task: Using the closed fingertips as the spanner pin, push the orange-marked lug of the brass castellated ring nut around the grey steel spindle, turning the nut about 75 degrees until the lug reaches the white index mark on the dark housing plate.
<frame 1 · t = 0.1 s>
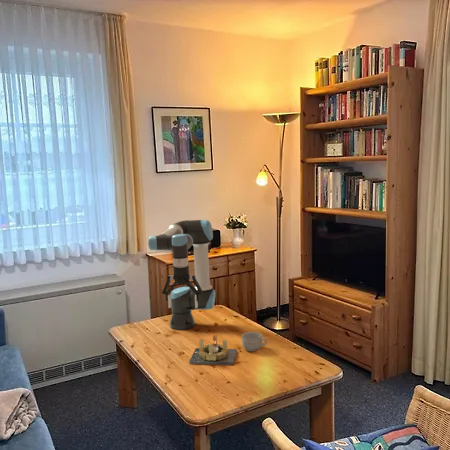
hand: (183, 307, 238), 28 cm above the table, fingers open, 13 cm apart
teacup: (254, 350, 252), on the table
ring nut: (213, 347, 243), point 6 cm above the table, hinge at 0.0°
housing: (213, 357, 244), on the table
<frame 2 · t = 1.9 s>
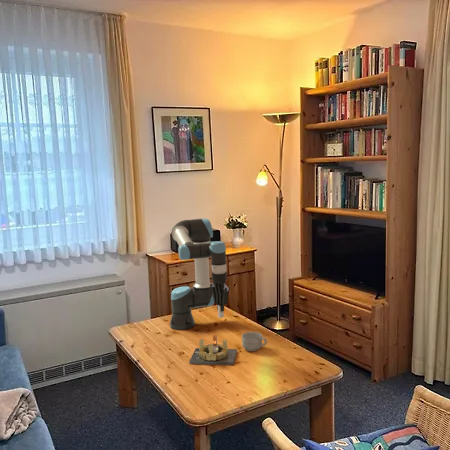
hand: (221, 316, 245), 20 cm above the table, fingers closed
nothing on the table moved.
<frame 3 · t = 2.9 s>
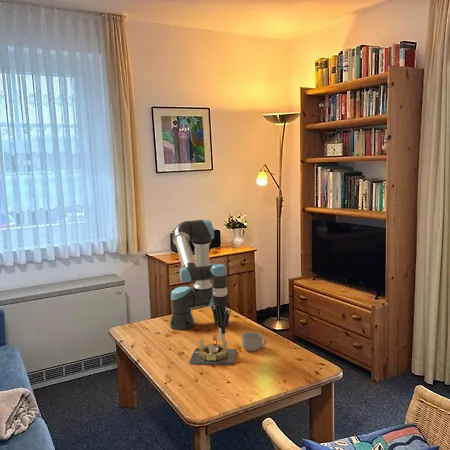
hand: (222, 339, 247), 8 cm above the table, fingers closed
nothing on the table moved.
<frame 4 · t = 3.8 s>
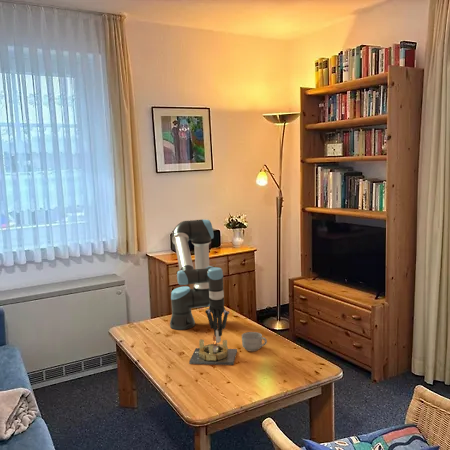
hand: (218, 341, 249), 6 cm above the table, fingers closed
ring nut: (213, 347, 243), point 6 cm above the table, hinge at 0.0°, touching gripper
everything else where it was.
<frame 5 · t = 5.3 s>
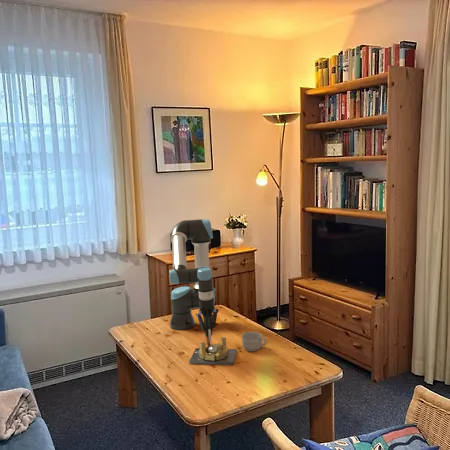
hand: (209, 341, 249), 6 cm above the table, fingers closed
ring nut: (213, 347, 243), point 6 cm above the table, hinge at 38.4°, touching gripper
everything else where it was.
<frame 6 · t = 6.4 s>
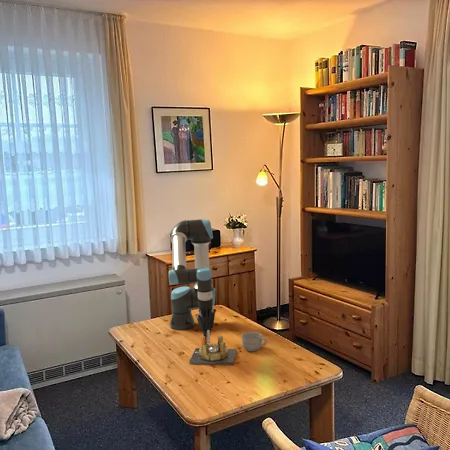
hand: (207, 342, 248), 6 cm above the table, fingers closed
ring nut: (213, 347, 243), point 6 cm above the table, hinge at 61.5°
everything else where it was.
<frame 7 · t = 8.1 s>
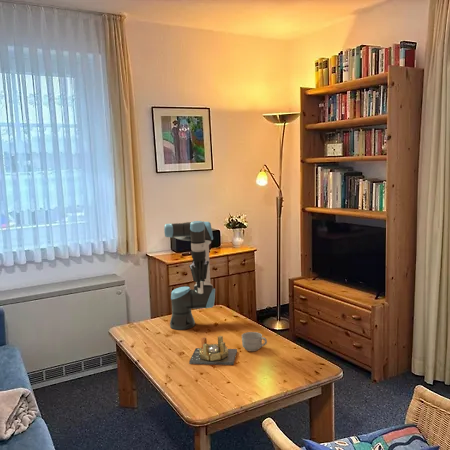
hand: (200, 293, 258), 29 cm above the table, fingers closed
nothing on the table moved.
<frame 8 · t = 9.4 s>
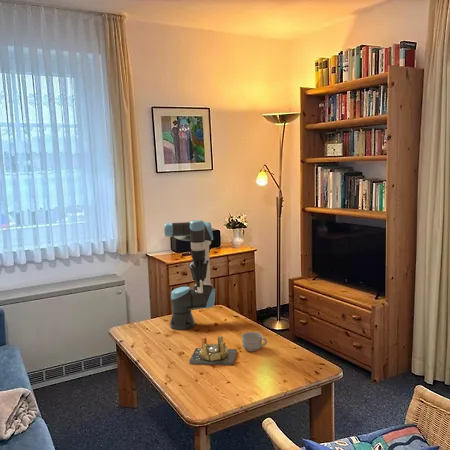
hand: (200, 292, 258), 29 cm above the table, fingers closed
nothing on the table moved.
at the end: ring nut at +62° (first picture: +0°) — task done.
